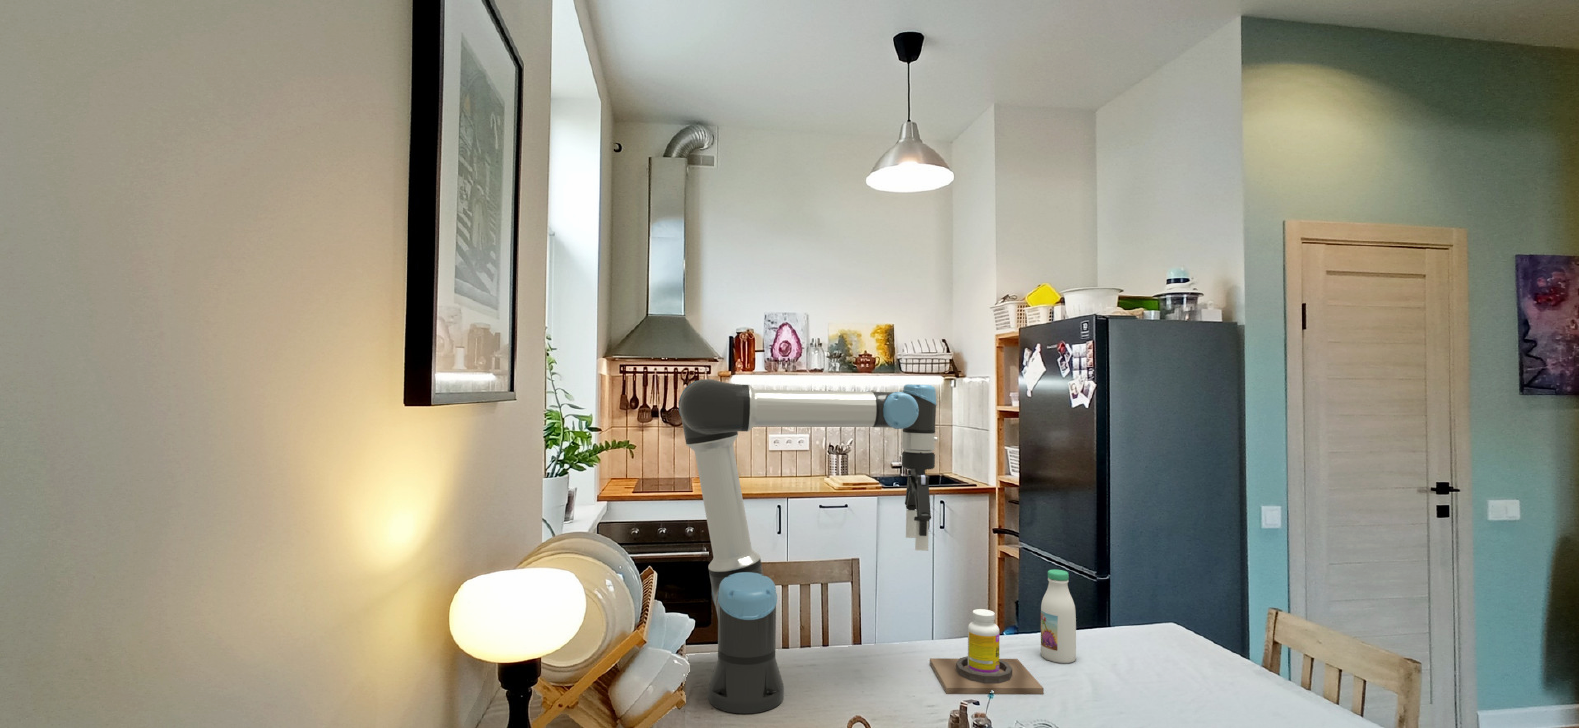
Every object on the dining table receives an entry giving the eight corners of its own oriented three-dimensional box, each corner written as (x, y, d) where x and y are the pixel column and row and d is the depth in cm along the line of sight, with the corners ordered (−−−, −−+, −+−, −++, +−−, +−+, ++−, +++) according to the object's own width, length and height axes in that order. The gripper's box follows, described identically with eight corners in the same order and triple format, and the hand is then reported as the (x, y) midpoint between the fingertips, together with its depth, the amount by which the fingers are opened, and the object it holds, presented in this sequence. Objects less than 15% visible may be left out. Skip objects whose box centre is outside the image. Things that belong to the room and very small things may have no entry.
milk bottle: (1070, 652, 171) (1070, 567, 171) (1080, 664, 163) (1080, 576, 164) (1037, 651, 171) (1037, 566, 172) (1045, 663, 164) (1045, 575, 164)
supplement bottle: (1000, 679, 151) (1000, 618, 151) (968, 676, 152) (968, 615, 153) (998, 667, 158) (998, 608, 158) (967, 665, 159) (967, 606, 159)
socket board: (946, 693, 147) (946, 680, 147) (929, 663, 163) (929, 651, 163) (1043, 694, 147) (1043, 680, 147) (1017, 664, 163) (1017, 652, 163)
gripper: (946, 456, 153) (944, 556, 152) (924, 447, 178) (923, 533, 177) (910, 455, 153) (908, 555, 152) (894, 446, 178) (892, 532, 177)
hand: (916, 543), depth 165 cm, fingers open, 13 cm apart
